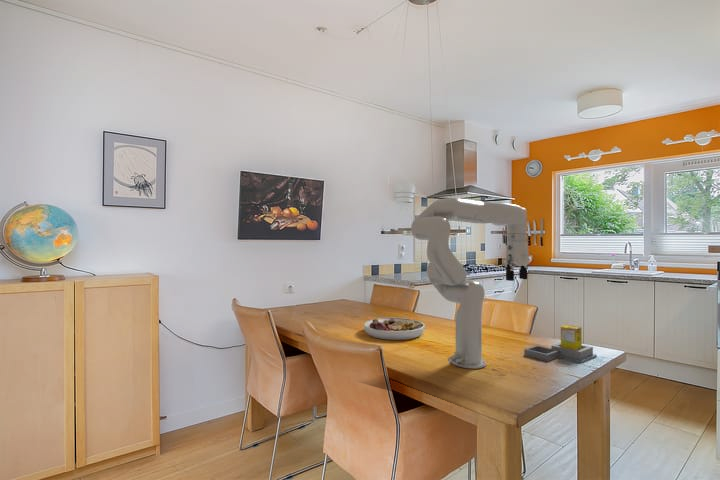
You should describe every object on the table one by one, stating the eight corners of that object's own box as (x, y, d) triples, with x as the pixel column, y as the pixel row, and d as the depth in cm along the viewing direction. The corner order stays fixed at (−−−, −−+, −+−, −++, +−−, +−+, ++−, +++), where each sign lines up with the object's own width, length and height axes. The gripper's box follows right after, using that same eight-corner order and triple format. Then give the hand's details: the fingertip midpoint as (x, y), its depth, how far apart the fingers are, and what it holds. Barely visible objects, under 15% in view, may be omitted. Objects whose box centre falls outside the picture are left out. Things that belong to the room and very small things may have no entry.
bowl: (384, 324, 211) (384, 310, 211) (434, 332, 193) (434, 316, 193) (351, 335, 187) (351, 319, 187) (405, 345, 169) (405, 328, 169)
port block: (581, 363, 144) (581, 353, 144) (547, 354, 155) (547, 345, 155) (596, 356, 152) (596, 347, 152) (563, 349, 163) (563, 340, 163)
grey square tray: (547, 361, 146) (547, 355, 146) (524, 355, 154) (524, 349, 154) (560, 356, 152) (560, 350, 152) (536, 351, 160) (536, 345, 160)
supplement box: (581, 353, 153) (581, 326, 153) (576, 357, 149) (576, 329, 149) (565, 350, 158) (565, 324, 157) (560, 353, 153) (560, 326, 153)
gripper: (513, 238, 148) (513, 282, 148) (536, 237, 158) (536, 279, 158) (496, 238, 154) (496, 280, 154) (519, 237, 164) (519, 277, 165)
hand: (516, 279), depth 156 cm, fingers open, 9 cm apart
